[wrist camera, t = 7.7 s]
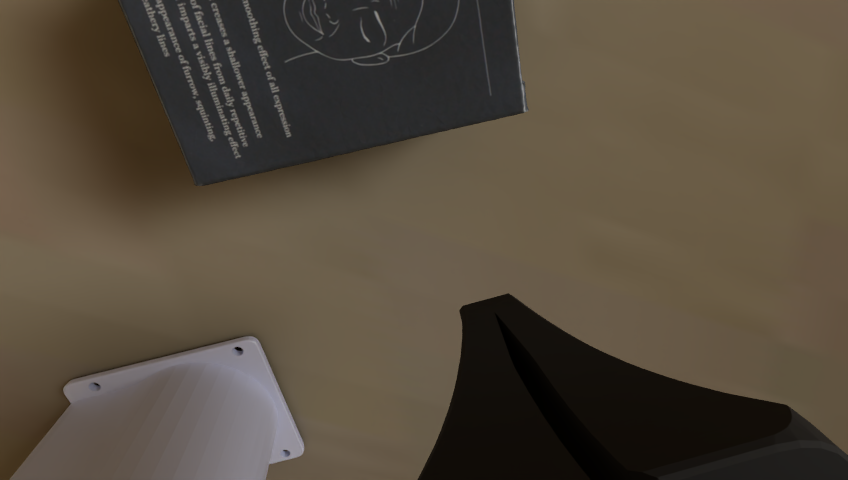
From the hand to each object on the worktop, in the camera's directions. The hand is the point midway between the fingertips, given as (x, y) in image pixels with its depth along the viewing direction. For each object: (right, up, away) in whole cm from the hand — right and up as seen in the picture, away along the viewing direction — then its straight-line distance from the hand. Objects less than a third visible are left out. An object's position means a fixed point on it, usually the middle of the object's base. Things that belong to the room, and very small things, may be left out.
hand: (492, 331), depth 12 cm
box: (-10, +8, +3) cm, 13 cm away
